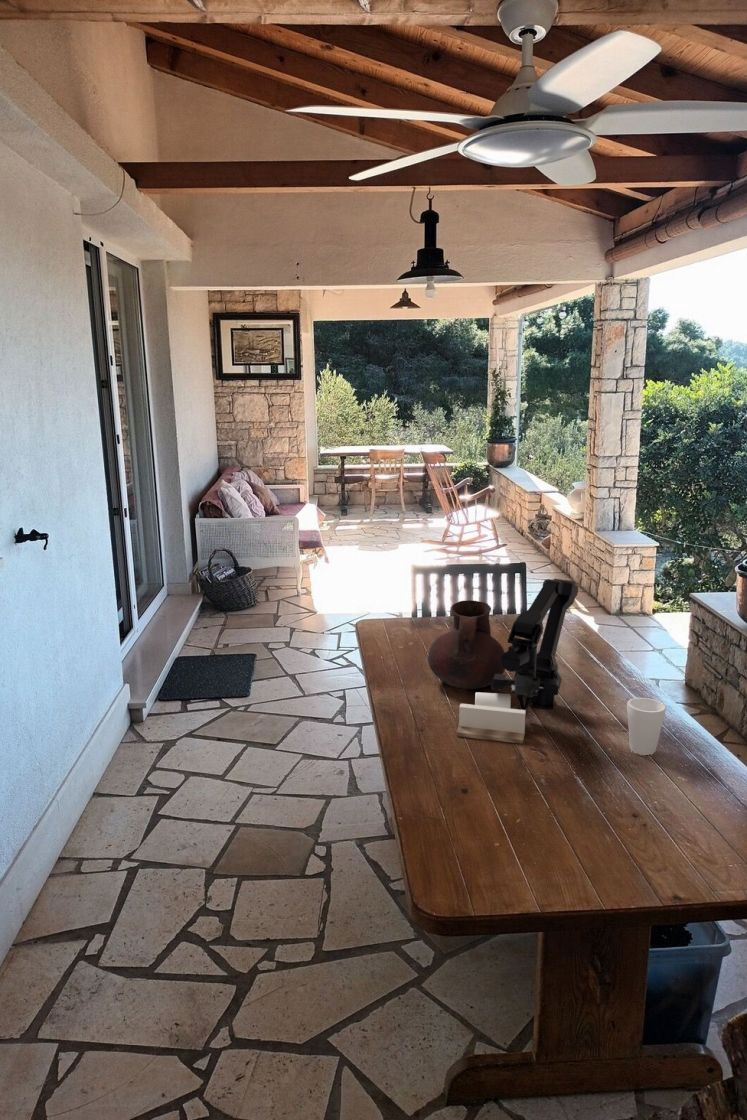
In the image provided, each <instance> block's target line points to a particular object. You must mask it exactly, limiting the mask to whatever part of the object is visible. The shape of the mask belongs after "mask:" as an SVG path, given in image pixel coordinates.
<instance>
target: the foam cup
mask: <svg viewBox="0 0 747 1120" xmlns="http://www.w3.org/2000/svg"><path fill="white" fill-rule="evenodd" d="M666 709H667V708H666V705H665V703H662V702H661V701H659V700H656V699H653V698H648V697H634V698H631V699H630V698H629V700H628V701H627V704H626V712H627V722H628V740H629V742H628V743H629V750H630V749H631V750H630V751H631V752H632V751H633V752H634V753H633V752H632V753H633V754H635V753H638V754H641V755H649V754H653V753H654V752H655V753H656V751H657V746H658V742H659V739H660V734H661V730H662V726H663V722H664V718H665V716H666ZM641 755H640V756H641Z"/></svg>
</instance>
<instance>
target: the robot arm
mask: <svg viewBox="0 0 747 1120" xmlns="http://www.w3.org/2000/svg"><path fill="white" fill-rule="evenodd" d="M578 594H579V586H578V585H576V582H575V581H573V580H566V579H561V578H553V579H544V580H543V583H542V587H541V589H540V590H539V592H538V594H537V596H536V597H535V599H533V602H532V604H531V605H530V606H529V608H528V610H525V611H522V612H521V613H520V614H519V615H518V616H517V617H516V619H515V620H514V621H513V622H512V623H513V624H512V625H511V626H512V627H511V629H510V633H509V636H508V639H507V643H508V644H511V645H510V646H508V648H507V651H504V652H505V653H504V654H503V655H502V657H501V663H502V665H503V667H504V668H505V671H508V672H510V673H511V672H514V673H515V674H514V677H513V678H514V679H513V678H508V675H507V674H504V673H503V674H494V675H493V677H492V681H491V684H490V689H492V690H497V691H503V690H504V689H505V688H506V686H507V687H510V688H511V692H510V693H511V694H513V695H515V696H516V698H517V700H518V703H519V707H520V710H526V711H527V709H528V706H529V704H530V703H531V707H532V708H540V709H551V710H553V709H554V710H555V700H556V699H555V696H558V695H559V690H560V688H561V684H562V677H561V675H560V674H559V672H558V670H559V669H558V668H559V665H558V662H557V659H556V653H557V649H558V645H559V641H560V637H561V632H562V630H563V624H564V620H565V617H566V612H567V611H568V609H569V608H571V606H572V605H574V602H575V599H576V597H577V596H578ZM547 614H548V615H547ZM546 615H547V619H546V623H545V628H544V623H543V621H544V619H545V617H546ZM542 635H543V636H542ZM541 637H542V638H541ZM540 639H541V643H540V647H539V651H538V645H539V642H540ZM524 695H525V697H524ZM524 698H525V699H524Z"/></svg>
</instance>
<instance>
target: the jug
mask: <svg viewBox="0 0 747 1120" xmlns="http://www.w3.org/2000/svg"><path fill="white" fill-rule="evenodd" d="M450 611H451V613H452V615H453V627H452V629H451V631H448V632H445V633H443V634H442V635H441V634H440V635H439V636H438V637H436V639H434V641H433V642H432V644H431V645H430V647H429V651H428V654H427V661H428V666H429V669H430V670H431V671H432V673H433V675H435V676H436V677H437V678H438V679H439V680H440V681H442V682H444V683H445V684H446V685H448V686H450V687H453V688H457V689H462V690H478V689H482V688H485V687H488V686H491V681H492V677H493V675H494V674H504V673H505V672H506V669H505V668H504V667H503V665H502V663H501V657H502V655H503V654H504V653H505V652H506V651H505V649H504V648H503V646H502V644H501V643H500V642H499V640H497V639H496V638H494V637H493V636H492V635H491V634H492V633H491V632H492V631H491V622H490V612H491V611H492V608H491V606H490V605H489V604H488V603H487V602H484V601H478V600H471V599H470V600H467V599H466V600H459V601H457V602H455V603H454V604H452V605H451V607H450Z"/></svg>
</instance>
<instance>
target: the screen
mask: <svg viewBox="0 0 747 1120" xmlns="http://www.w3.org/2000/svg"><path fill="white" fill-rule="evenodd" d="M458 709H459V716H458V727H457V731H456V737H460V738H470V739H477V740H478V739H479V740H487V741H495V742H496V741H497V742H504V743H513V744H521V745H522V744H524V739H525V734H526V733H525V732H526V713H527V709H526V710H521V709H517V708H511V709H509V708H499V707H490V706H480V705H475V704H469V703H460V704H459V708H458Z"/></svg>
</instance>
